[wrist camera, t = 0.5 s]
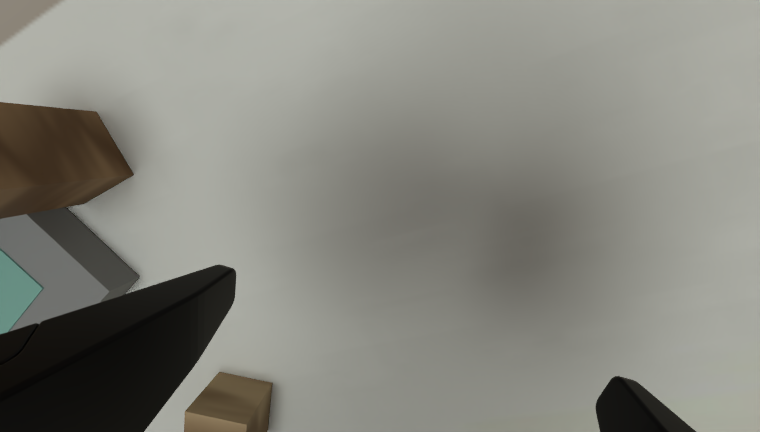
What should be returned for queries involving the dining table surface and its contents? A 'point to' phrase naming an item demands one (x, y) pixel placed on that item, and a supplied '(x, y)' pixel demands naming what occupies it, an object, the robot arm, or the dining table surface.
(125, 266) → the base slab
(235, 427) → the oak block
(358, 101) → the dining table surface
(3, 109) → the walnut pillar
